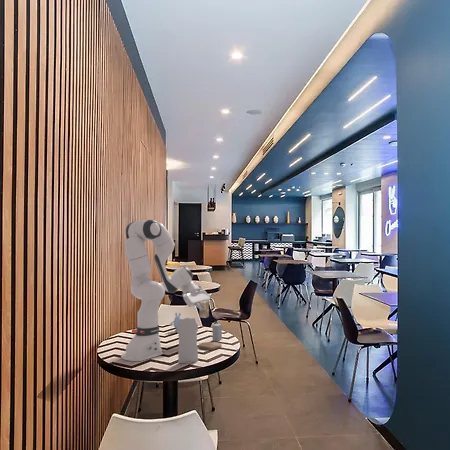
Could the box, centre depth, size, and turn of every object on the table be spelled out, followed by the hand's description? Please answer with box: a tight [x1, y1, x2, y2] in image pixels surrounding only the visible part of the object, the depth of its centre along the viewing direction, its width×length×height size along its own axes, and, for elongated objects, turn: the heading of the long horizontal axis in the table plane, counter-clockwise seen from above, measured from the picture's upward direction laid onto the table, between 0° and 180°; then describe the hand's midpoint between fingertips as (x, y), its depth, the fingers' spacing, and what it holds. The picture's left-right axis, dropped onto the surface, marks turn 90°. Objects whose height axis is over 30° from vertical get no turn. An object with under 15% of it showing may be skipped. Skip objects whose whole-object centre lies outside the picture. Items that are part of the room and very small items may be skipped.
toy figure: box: [169, 312, 182, 332], centre depth 255 cm, size 11×6×12 cm, turn 107°
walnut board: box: [197, 341, 222, 351], centre depth 217 cm, size 13×13×1 cm
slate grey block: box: [211, 323, 223, 342], centre depth 231 cm, size 4×4×9 cm
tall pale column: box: [176, 317, 199, 365], centre depth 192 cm, size 11×4×22 cm, turn 106°
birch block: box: [198, 301, 210, 319], centre depth 231 cm, size 4×4×9 cm
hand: (204, 308), depth 230 cm, fingers closed on birch block, 4 cm apart
